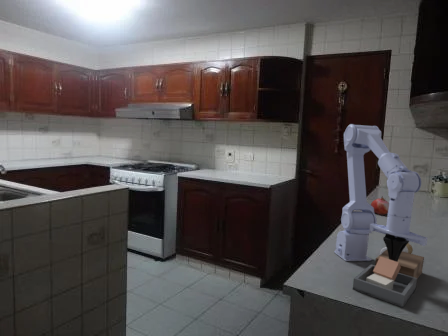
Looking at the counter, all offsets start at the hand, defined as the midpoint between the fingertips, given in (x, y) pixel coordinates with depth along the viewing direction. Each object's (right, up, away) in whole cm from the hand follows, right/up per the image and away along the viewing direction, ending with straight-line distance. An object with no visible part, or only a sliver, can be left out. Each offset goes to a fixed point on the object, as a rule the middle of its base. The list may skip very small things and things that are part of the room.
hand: (393, 262), depth 92 cm
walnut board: (+5, -5, +7) cm, 10 cm away
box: (-4, -6, -4) cm, 8 cm away
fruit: (+36, +2, +85) cm, 92 cm away
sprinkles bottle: (+17, -2, +24) cm, 29 cm away
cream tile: (-6, -3, -5) cm, 8 cm away
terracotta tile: (-2, -2, -1) cm, 3 cm away
